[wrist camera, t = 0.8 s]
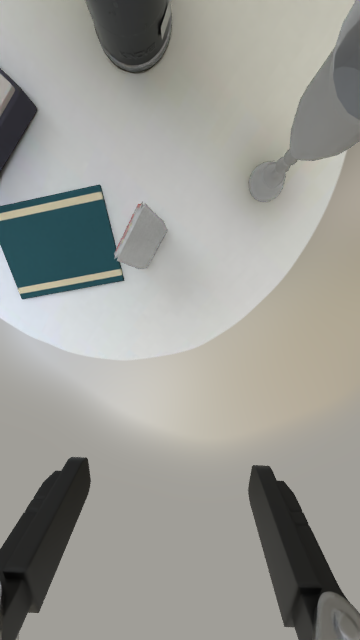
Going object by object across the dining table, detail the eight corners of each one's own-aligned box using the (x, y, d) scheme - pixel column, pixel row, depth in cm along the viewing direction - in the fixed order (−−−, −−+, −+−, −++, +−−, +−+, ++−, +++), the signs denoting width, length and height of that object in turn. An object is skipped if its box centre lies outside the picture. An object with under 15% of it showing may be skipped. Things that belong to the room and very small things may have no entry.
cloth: (-12, 210, 30) (-14, 209, 29) (100, 185, 29) (99, 184, 28) (23, 298, 33) (21, 299, 33) (124, 280, 32) (123, 280, 32)
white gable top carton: (167, 229, 30) (159, 212, 20) (146, 268, 32) (130, 269, 22) (146, 216, 30) (128, 192, 20) (126, 256, 31) (101, 251, 22)
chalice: (256, 219, 29) (360, 152, 12) (232, 177, 28) (311, 33, 11) (300, 186, 28) (487, 59, 11) (277, 141, 27) (450, -90, 9)
